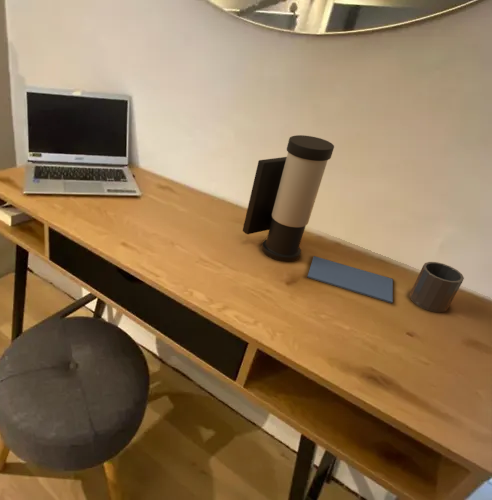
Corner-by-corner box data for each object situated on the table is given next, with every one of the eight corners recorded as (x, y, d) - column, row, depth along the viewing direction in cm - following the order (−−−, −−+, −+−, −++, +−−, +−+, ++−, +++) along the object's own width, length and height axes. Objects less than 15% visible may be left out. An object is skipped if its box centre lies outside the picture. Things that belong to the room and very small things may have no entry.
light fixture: (272, 267, 98) (304, 152, 85) (239, 241, 106) (264, 133, 93) (314, 256, 103) (350, 147, 90) (279, 232, 111) (308, 129, 98)
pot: (433, 291, 95) (448, 262, 92) (455, 312, 90) (472, 282, 86) (402, 290, 95) (416, 261, 91) (422, 312, 89) (437, 281, 85)
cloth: (392, 280, 97) (392, 278, 97) (391, 303, 90) (392, 301, 90) (313, 257, 103) (313, 255, 102) (307, 277, 95) (307, 275, 95)
